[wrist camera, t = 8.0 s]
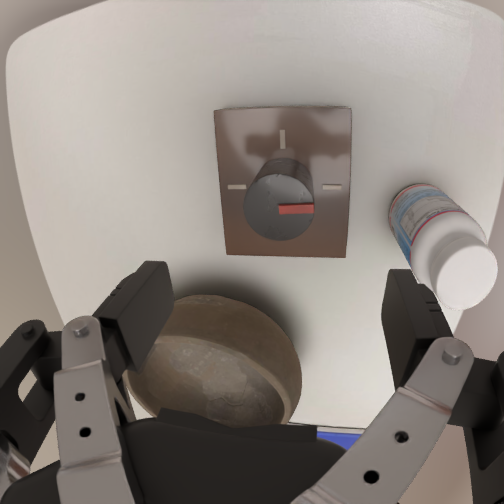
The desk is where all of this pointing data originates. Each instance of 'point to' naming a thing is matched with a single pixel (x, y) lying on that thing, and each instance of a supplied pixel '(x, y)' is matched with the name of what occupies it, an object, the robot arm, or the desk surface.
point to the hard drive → (339, 435)
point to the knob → (280, 200)
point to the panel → (293, 147)
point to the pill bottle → (443, 246)
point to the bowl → (220, 365)
